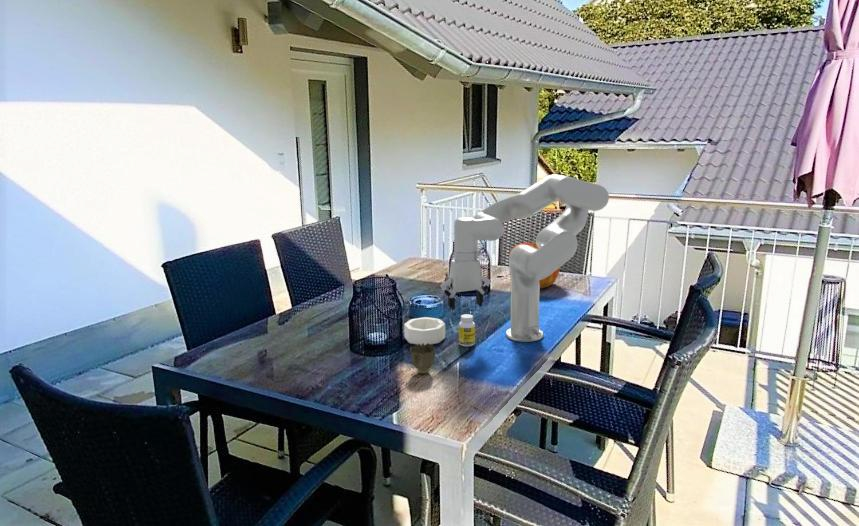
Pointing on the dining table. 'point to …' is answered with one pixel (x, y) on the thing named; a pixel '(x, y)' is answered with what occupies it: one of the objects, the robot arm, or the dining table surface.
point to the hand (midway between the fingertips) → (465, 306)
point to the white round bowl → (424, 330)
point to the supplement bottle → (466, 330)
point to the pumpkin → (547, 280)
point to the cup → (422, 357)
